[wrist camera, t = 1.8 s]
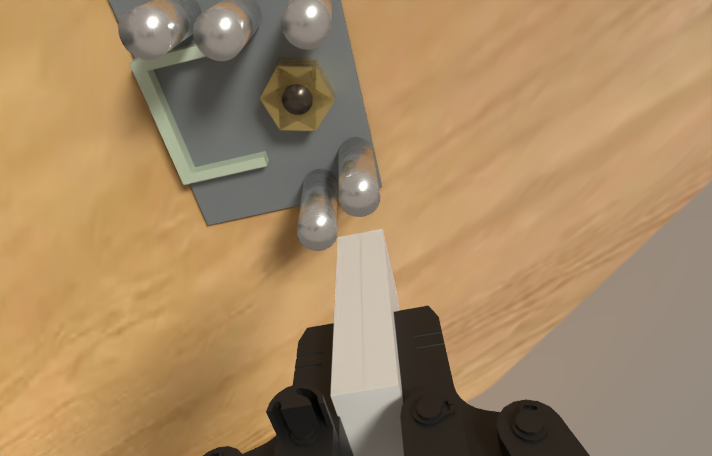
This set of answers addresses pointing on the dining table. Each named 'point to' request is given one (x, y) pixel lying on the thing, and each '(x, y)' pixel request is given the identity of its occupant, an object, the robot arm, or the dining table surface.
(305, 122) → the nut
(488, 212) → the dining table surface
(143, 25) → the spacer posts
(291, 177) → the mat
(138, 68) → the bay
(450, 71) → the dining table surface
